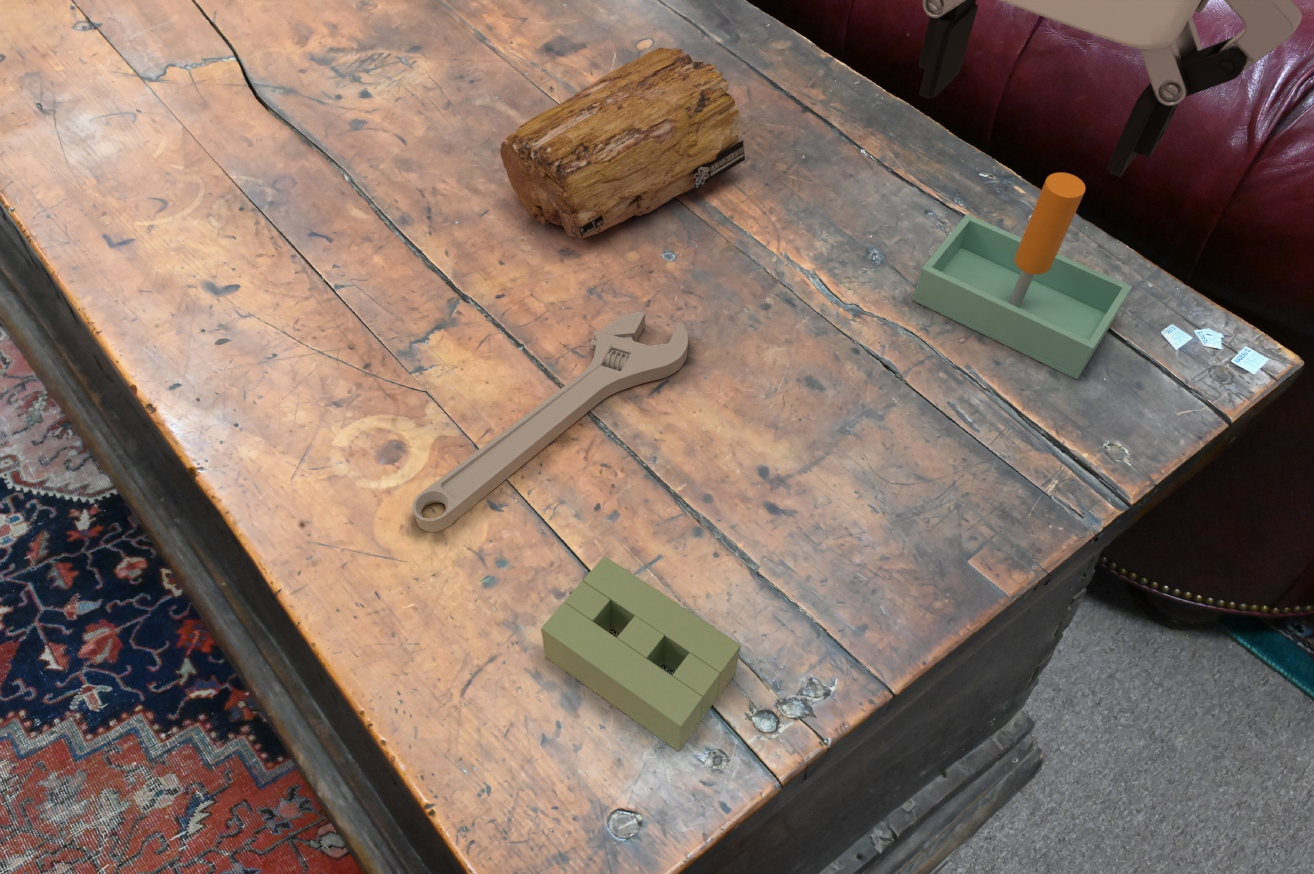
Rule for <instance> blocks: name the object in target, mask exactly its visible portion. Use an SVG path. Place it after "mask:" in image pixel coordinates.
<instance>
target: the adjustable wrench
mask: <svg viewBox="0 0 1314 874" xmlns="http://www.w3.org/2000/svg"><path fill="white" fill-rule="evenodd" d="M645 326H646V312H643V311H634V312H630V313H627V314H624V315H621V316H619V317H617V318H615V319H614V320H612V321H611V322H610V323H608V324H607V325H606V326H604V327H603V328H602V329H601V330H596V329H594V332H593V338H592V339H591V341H590V344H589V349H590V350H593V351H594V354H593V358H592V359H591V361H590V363H589V364H588V365H587V367H586V368H585V369H584V370H583V371H582V372H581V373H580V374H578V375H577V376H575V378H573V379H572V380H570V381H569V382H567V383H566V384H565V385H564V386H562V387H561V388H560V389H558V390H557V391H555V392H554V393H553V394H552V395H550V396H549V397H548V398H546V399H544V401H542V402H541V403H539V404H538V405H537V406H535V407H534V408H532V409H531V410H530V411H529V412H528V413H526V414H524V415H523V416H522V417H520V418H519V419H518V420H516V421H515V422H514V423H513V424H512V425H510V426H508V427H507V428H506V429H505V430H503V431H502V432H500V433H499V434H498V435H496V436H495V437H493V438H492V439H491V440H490V441H488V442H487V443H486V444H484V445H483V446H482V447H480V448H479V449H478V450H476V451H475V452H473V453H472V454H471V455H470V456H468V457H467V458H466V459H464V460H463V461H462V462H460V463H459V464H457V465H456V466H455V467H454V468H452V469H451V470H449V471H448V472H446V474H444V475H443V476H442V477H440V478H438V480H436V481H434V482H433V483H432V484H431V485H429V486H428V487H426V488H425V489H424V490H422V491H421V492H420V493H419V494H418V495H417V496H416V497H415V498H414V500H413V502H412V512H413V515H414V517H415V521H416V524H417V525H418V526H419V528H420V529H422V530H423V531H424V532H429V533H437V532H441V531H443V530H445V529H447V528H448V527H450V526H451V525H452V524H453V523H454V522H456V521H457V520H458V519H460V518H461V517H462V516H463V515H464V514H465V513H467V512H468V511H469V510H470V509H471V508H473V507H474V506H475V505H476V504H478V503H479V502H480V501H481V500H482V499H484V498H485V497H486V496H487V495H489V494H491V492H493V490H495V489H496V488H497V487H499V486H500V485H502V483H503V482H505V481H506V480H507V479H508V478H509V477H510V476H512V475H513V474H514V473H516V472H517V471H518V470H519V469H520V468H521V467H523V466H524V465H525V464H527V463H528V462H529V461H530V460H531V459H533V457H536V455H537V454H539V453H540V452H542V450H544V449H545V448H546V447H547V446H548V445H550V444H551V443H552V442H553V441H555V439H557V438H558V437H559V436H561V435H562V434H563V433H564V432H565V431H567V430H568V429H569V428H571V427H572V426H573V425H574V424H575V423H576V422H578V421H579V420H581V418H583V417H584V416H585V415H586V414H588V413H589V412H590V411H591V410H592V409H594V408H595V407H596V406H597V405H598V404H600V403H601V402H602V401H603V400H606V399H607V398H608V397H609V396H612V395H614V394H616V393H619V392H621V391H624V390H627V389H629V388H632V387H635V386H639V385H642V384H645V383H649V382H654V381H657V380H661V379H665V378H667V377H670V376H672V375H674V374H675V373H677V372H678V371H679V370H680V369H681V368H682V367H683V365H684V364H685V362H686V360H687V357H688V348H689V347H688V346H689V333H688V331H687V329H686V326H685V325H684V324H682V323H680V322H677V325H676V327H675V329H674V331H673V333H672V334H671V337H670V339H669V341H668V342H667V343H659V344H653V345H652V344H651V345H648V344H645V343H643V342H638V340H639V338H640V336H641V334H642V332H643V331H644V328H645ZM434 503H435V504H437V503H440V504H443V505H444V507H445V511H444V512H443V513H442V514H441V515H439V516H438V517H434V518H427V517H424V515H423V513H422V512H423V511H422V510H423V509H424V508H425V507H427V506H429V505H431V504H434Z"/></svg>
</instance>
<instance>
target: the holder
mask: <svg viewBox="0 0 1314 874" xmlns="http://www.w3.org/2000/svg"><path fill="white" fill-rule="evenodd" d="M612 630H613V631H614V632H616V633H617V634H618V635H617V636H615V635H613V634H612V633H610V631H612ZM540 631H541V638H542V644H543V651H544V656H545V658H546V659H547V660H549V661H550V662H552V663H553V664H555V665H556V666H557V667H558V668H560V669H561V670H563V672H566V673H567V674H569V675H570V676H571V677H573V678H574V679H575V680H577V681H579V682H580V683H581V684H582V685H584V686H586V687H587V688H588V689H590V690H591V691H592V692H594V693H595V694H597V695H598V696H599V697H601V698H602V699H603V700H605V701H606V702H608V703H609V704H611V705H612V706H613V707H615V709H618V710H619V711H620V712H621V713H623V714H625V715H626V716H628V717H629V718H630V719H632V720H633V721H635V722H636V723H637V724H639V725H640V726H641V727H643V728H644V729H646V730H647V731H648V732H650V733H651V734H653V735H654V736H656V737H657V738H659V739H660V740H661V741H662V742H664V743H665V744H667V745H668V746H669V747H671V748H672V749H674V750H675V751H676V752H680V750H681V749H682V748H683V746H684V745H685V744H686V743H687V741H688V739H689V738H691V735H692V734H693V733H694V731H695V730H696V729H697V727H698V726H699V724H700V723H701V722H702V720H703V719H704V717H705V716H706V714H707V713H708V712H709V710H710V709H711V708H712V706H713V705H714V704H715V702H716V701H717V700H718V699H719V697H720V696H721V694H722V692H723V691H724V690H725V688H727V686H728V685H729V683H730V682H731V680H732V679H733V678H734V676H735V675H736V672H737V669H738V664H739V658H740V652H741V648H742V644H741V643H739V642H737V641H736V640H735V639H733V638H732V637H730V636H728V635H727V634H726V633H723V632H722V631H721V630H719V629H717V627H715V626H714V625H712V624H710V623H709V622H707V621H706V620H704V619H703V618H701V617H699V616H698V615H696V614H695V613H693V612H692V611H690V610H688V609H687V608H685V607H684V606H683V605H681V604H679V603H678V602H676V601H675V600H673V599H672V598H670V597H669V596H667V595H666V594H664V593H663V592H661V591H659V590H658V589H656V588H655V587H653V586H652V585H650V584H649V583H648V582H646V581H644V580H643V579H641V578H640V577H638V576H636V575H635V574H633V573H632V572H630V571H629V570H628V569H626V568H625V567H623V566H621V565H620V564H618V563H617V562H615V561H614V560H612V559H611V558H609V557H607V556H606V555H603V556H602V557H601V559H599V560H598V562H597V563H596V564H595V566H593V568H592V569H591V570H590V571H589V572H588V574H587V575H586V576H585V577H584V578H583V579H582V581H580V583H579V584H577V586H576V588H575V589H574V590H573V591H572V592H571V593H570V594H569V595H568V597H567V598H565V600H564V602H562V604H560V606H558V608H557V609H556V610H555V611H554V613H553V614H552V615H551V616H550V617H549V618H548V620H547V621H546V622H544V624H543V625H542V626H541V627H540ZM663 665H665V667H667V668H669V669H670V670H672V671H673V674H670V673H669V672H667V671H666V670H664V669H663V668H661V667H662V666H663Z"/></svg>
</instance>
